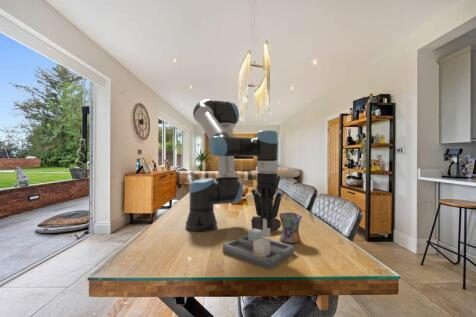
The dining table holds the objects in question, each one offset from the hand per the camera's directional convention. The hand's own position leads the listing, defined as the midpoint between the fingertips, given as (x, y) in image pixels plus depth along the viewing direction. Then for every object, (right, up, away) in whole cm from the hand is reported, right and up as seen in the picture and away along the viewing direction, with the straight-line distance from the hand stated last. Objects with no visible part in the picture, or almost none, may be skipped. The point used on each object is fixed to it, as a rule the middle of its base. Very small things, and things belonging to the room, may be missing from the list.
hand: (266, 235), depth 87 cm
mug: (+11, -6, +12) cm, 17 cm away
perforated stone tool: (+3, -6, +23) cm, 24 cm away
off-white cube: (-3, -4, -8) cm, 9 cm away
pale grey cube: (-4, -3, +3) cm, 6 cm away
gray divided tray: (-3, -5, -2) cm, 7 cm away
